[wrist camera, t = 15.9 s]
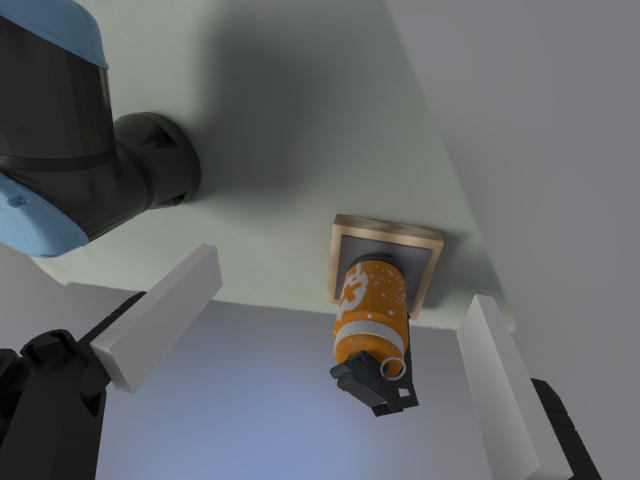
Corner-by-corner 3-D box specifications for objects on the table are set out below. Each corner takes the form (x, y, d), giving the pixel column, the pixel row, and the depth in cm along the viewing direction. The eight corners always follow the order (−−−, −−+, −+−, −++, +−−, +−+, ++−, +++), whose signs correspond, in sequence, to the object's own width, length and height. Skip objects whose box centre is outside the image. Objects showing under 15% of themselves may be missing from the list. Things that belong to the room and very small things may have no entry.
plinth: (329, 289, 52) (325, 303, 49) (337, 214, 44) (332, 225, 41) (415, 306, 50) (417, 322, 46) (440, 230, 41) (445, 243, 38)
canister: (373, 240, 40) (360, 357, 24) (426, 284, 42) (449, 422, 25) (335, 273, 45) (302, 390, 28) (385, 311, 47) (380, 442, 30)
